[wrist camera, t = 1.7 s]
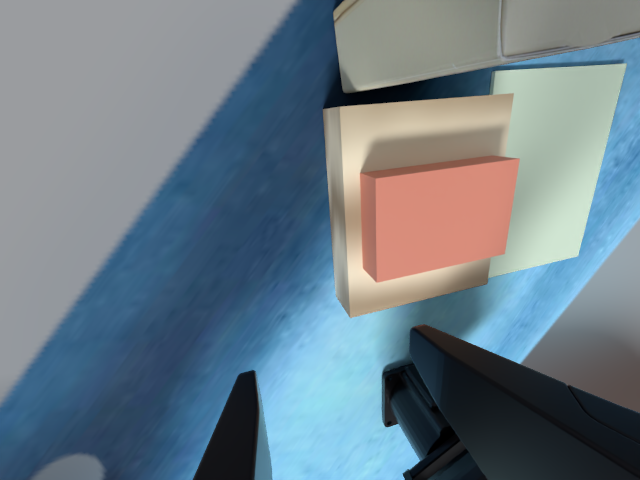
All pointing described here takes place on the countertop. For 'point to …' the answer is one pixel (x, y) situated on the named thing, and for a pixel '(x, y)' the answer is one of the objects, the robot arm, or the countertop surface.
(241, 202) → the countertop surface
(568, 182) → the mat
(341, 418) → the countertop surface
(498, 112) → the board
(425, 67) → the skincare box
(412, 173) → the salmon pink brick
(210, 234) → the countertop surface
